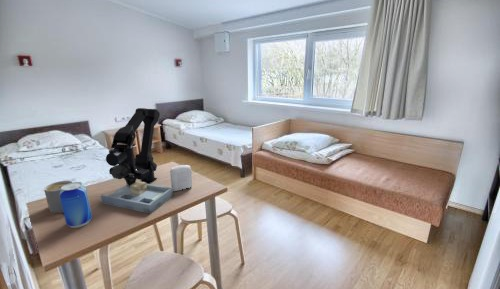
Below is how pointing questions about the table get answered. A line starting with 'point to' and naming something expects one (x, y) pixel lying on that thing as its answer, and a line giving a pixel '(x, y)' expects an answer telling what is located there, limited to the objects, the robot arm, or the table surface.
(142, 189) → the beech block
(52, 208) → the coffee mug
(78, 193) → the beer can
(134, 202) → the box
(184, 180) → the photo printer
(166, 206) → the table surface
